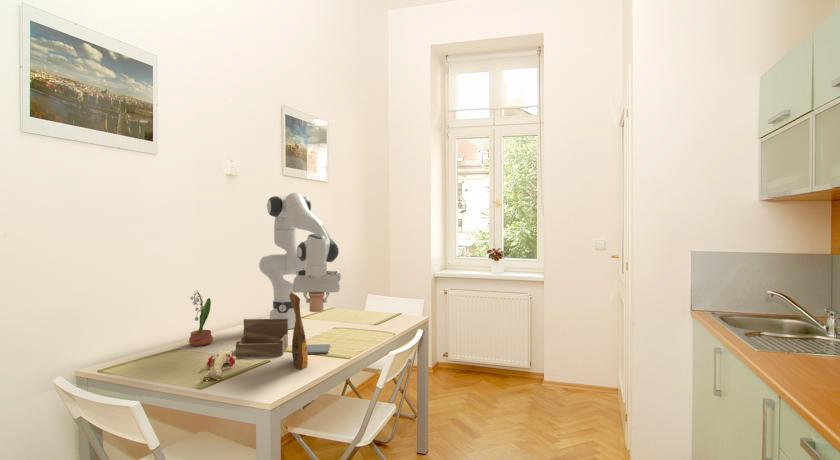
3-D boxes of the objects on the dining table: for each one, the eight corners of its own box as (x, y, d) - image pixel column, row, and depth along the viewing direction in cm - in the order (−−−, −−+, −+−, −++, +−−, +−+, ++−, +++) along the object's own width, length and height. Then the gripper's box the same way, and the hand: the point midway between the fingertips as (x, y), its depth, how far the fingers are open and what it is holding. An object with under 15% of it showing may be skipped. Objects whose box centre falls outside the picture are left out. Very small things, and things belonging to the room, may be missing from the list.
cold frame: (244, 347, 210) (244, 319, 210) (287, 346, 212) (288, 318, 212) (235, 356, 196) (235, 326, 196) (282, 355, 198) (282, 325, 198)
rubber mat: (305, 346, 212) (305, 344, 212) (330, 346, 213) (330, 344, 213) (301, 354, 200) (301, 352, 200) (328, 353, 201) (328, 351, 201)
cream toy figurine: (227, 383, 167) (239, 358, 192) (226, 360, 166) (238, 337, 191) (197, 385, 165) (213, 359, 190) (196, 361, 164) (212, 338, 189)
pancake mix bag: (290, 371, 177) (290, 297, 177) (289, 357, 195) (289, 290, 195) (308, 370, 179) (309, 296, 179) (305, 356, 197) (305, 290, 197)
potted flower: (201, 348, 208) (201, 292, 207) (181, 347, 209) (181, 291, 209) (217, 342, 219) (217, 288, 219) (198, 340, 221) (198, 288, 221)
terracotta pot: (309, 309, 209) (309, 291, 209) (325, 309, 210) (325, 291, 210) (307, 312, 202) (307, 293, 202) (323, 312, 203) (323, 293, 203)
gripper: (340, 270, 210) (340, 301, 210) (294, 270, 208) (294, 301, 208) (340, 271, 204) (340, 303, 204) (292, 271, 202) (291, 304, 202)
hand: (316, 302), depth 206 cm, fingers closed on terracotta pot, 6 cm apart
